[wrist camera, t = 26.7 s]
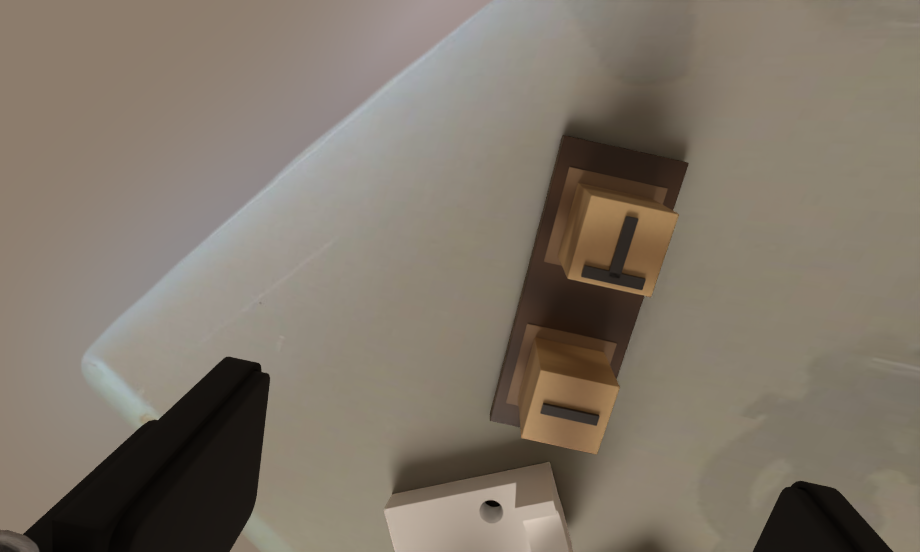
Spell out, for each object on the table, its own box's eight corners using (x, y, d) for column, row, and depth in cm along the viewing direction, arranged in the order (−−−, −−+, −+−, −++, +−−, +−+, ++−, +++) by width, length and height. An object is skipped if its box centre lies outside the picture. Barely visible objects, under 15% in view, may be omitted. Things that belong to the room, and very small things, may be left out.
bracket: (549, 457, 43) (553, 500, 36) (571, 542, 43) (580, 604, 36) (394, 489, 45) (368, 536, 38) (416, 571, 45) (394, 635, 38)
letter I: (517, 398, 40) (521, 440, 35) (534, 336, 38) (541, 371, 33) (584, 412, 40) (597, 457, 35) (604, 351, 38) (621, 389, 33)
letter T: (577, 182, 35) (592, 195, 30) (654, 199, 35) (681, 215, 30) (557, 256, 36) (567, 280, 31) (630, 272, 36) (652, 298, 31)
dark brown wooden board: (562, 134, 35) (564, 135, 34) (683, 161, 35) (689, 163, 34) (489, 413, 41) (489, 421, 40) (592, 436, 41) (595, 444, 40)
